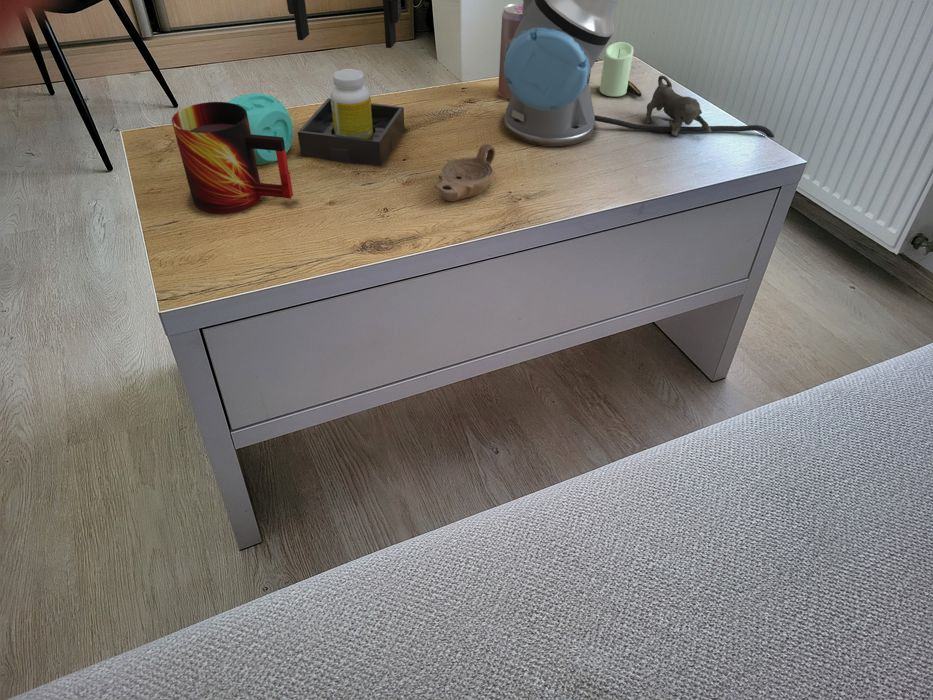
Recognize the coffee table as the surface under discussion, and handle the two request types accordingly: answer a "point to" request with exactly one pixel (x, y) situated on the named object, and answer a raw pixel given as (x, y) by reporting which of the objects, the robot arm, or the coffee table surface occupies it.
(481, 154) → the oil lamp
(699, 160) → the coffee table surface
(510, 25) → the beverage can
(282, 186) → the mug
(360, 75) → the pill bottle
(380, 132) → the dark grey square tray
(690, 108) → the dog figurine
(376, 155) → the dark grey storage tray
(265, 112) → the decorative dice
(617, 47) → the candle
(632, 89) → the dark small wedge
